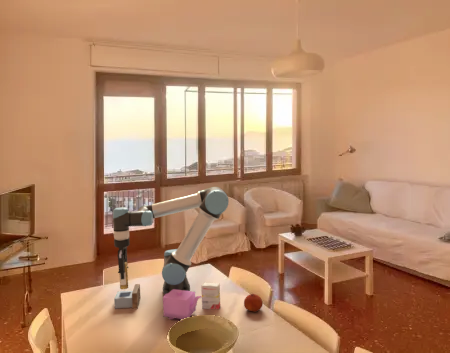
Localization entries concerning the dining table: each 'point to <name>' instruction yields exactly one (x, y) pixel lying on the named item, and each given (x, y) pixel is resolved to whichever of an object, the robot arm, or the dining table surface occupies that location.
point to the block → (123, 299)
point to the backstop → (136, 296)
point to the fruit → (253, 302)
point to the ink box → (210, 295)
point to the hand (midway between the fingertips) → (124, 282)
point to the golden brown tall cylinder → (126, 278)
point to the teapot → (179, 304)
